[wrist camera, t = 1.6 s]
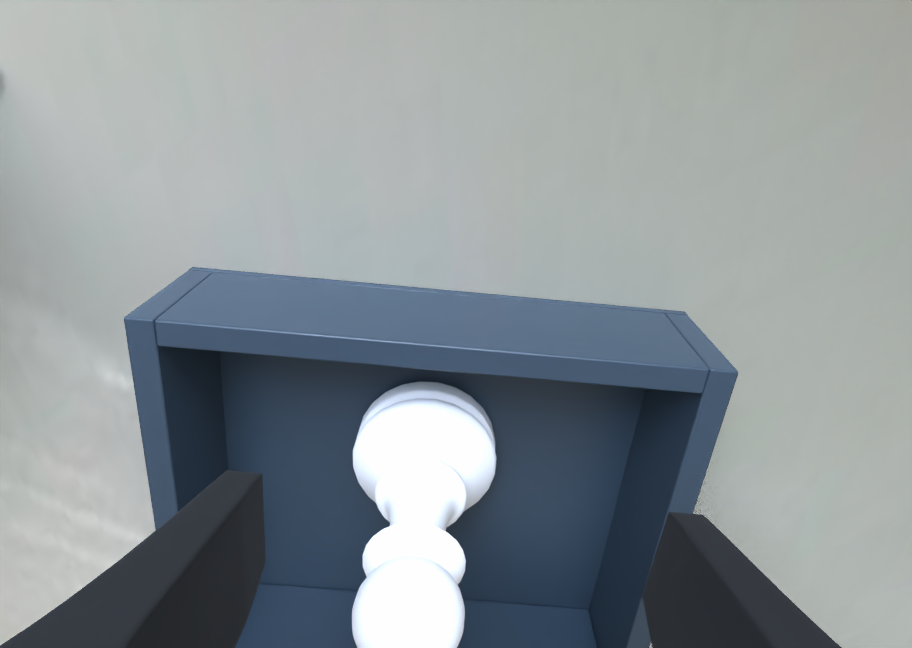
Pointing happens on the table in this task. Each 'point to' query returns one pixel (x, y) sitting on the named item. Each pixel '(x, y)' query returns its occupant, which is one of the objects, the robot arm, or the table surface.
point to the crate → (470, 370)
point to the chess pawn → (418, 512)
